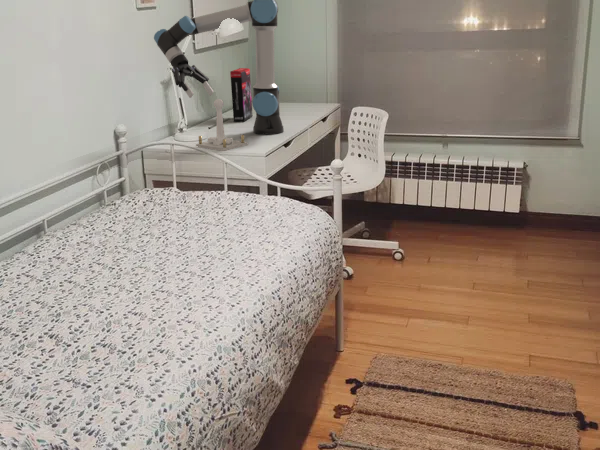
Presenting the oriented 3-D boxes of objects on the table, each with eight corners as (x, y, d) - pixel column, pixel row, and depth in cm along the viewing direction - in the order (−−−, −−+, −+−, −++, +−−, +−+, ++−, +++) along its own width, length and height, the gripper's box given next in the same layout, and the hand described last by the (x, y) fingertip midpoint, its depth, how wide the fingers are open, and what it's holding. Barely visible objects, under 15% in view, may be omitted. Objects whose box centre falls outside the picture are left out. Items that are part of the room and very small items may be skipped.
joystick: (234, 142, 315) (231, 98, 309) (226, 145, 309) (224, 100, 303) (212, 141, 319) (209, 97, 313) (204, 144, 313) (201, 100, 306)
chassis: (220, 140, 326) (219, 131, 325) (247, 144, 317) (247, 134, 315) (196, 146, 314) (195, 136, 313) (223, 150, 304) (222, 140, 303)
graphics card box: (244, 122, 374) (242, 71, 366) (232, 122, 376) (229, 71, 367) (252, 117, 390) (250, 67, 382) (241, 117, 392) (238, 67, 383)
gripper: (191, 63, 331) (215, 98, 327) (153, 65, 311) (178, 102, 308) (199, 52, 327) (224, 87, 323) (161, 54, 307) (187, 91, 303)
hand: (202, 94), depth 315 cm, fingers open, 13 cm apart
